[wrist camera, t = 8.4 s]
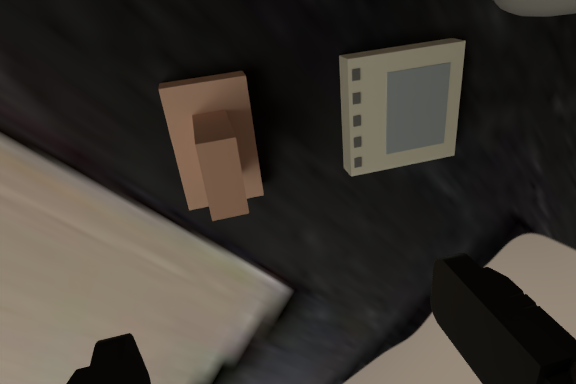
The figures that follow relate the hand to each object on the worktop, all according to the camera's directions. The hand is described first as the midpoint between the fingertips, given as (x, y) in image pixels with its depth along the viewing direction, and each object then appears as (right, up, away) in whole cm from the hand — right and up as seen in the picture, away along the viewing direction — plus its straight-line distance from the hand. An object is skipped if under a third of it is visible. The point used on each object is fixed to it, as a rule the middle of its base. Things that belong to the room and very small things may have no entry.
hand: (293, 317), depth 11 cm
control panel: (+7, +9, +18) cm, 22 cm away
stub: (-5, +7, +16) cm, 18 cm away
